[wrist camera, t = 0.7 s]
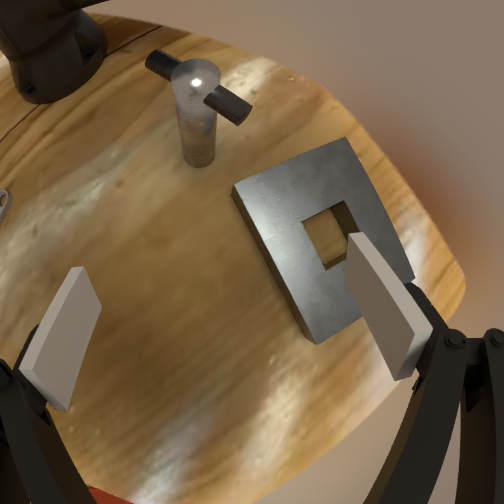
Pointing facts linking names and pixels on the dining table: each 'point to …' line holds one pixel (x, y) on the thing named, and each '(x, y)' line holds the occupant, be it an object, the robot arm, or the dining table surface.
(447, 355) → the robot arm
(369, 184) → the block
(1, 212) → the adjustable wrench
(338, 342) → the dining table surface
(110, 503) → the french fries container
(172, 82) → the chuck key
